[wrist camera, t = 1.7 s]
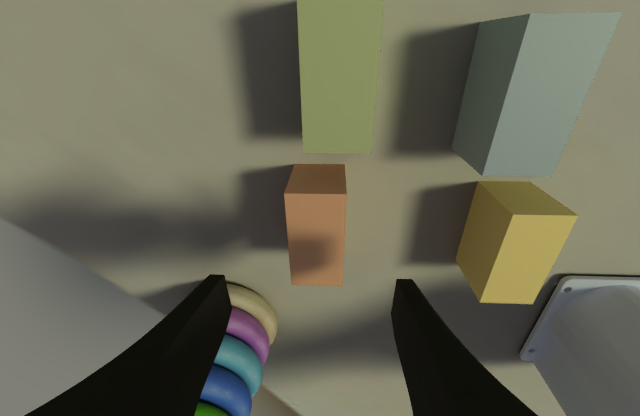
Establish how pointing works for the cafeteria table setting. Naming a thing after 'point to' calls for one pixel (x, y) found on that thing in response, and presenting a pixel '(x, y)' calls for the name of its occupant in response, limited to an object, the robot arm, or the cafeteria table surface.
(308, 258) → the terracotta brick
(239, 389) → the stacking toy
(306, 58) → the olive brick
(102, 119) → the cafeteria table surface
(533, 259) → the mustard brick
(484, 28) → the slate brick
